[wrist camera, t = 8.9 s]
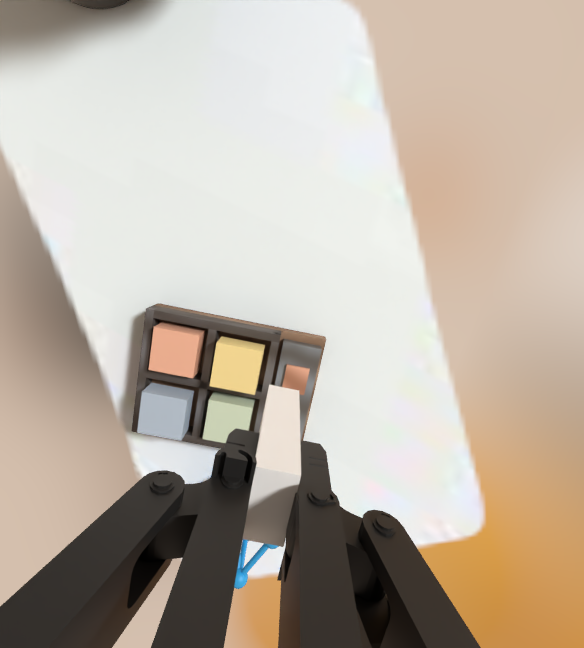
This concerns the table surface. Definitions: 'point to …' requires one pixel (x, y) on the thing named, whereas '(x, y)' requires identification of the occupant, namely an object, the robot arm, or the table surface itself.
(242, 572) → the molecular structure
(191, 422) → the keypad
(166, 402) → the slate key
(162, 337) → the terracotta key
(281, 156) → the table surface
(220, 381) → the mustard key
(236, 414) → the sage key
